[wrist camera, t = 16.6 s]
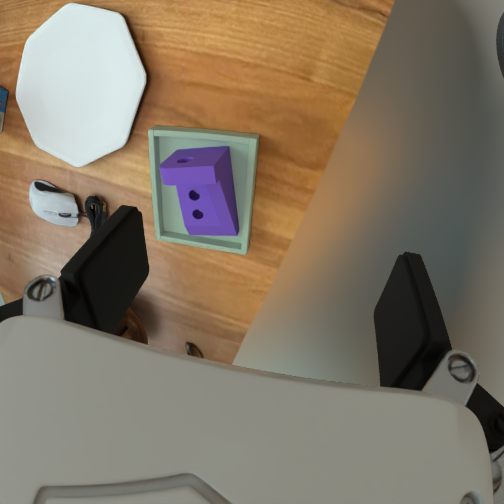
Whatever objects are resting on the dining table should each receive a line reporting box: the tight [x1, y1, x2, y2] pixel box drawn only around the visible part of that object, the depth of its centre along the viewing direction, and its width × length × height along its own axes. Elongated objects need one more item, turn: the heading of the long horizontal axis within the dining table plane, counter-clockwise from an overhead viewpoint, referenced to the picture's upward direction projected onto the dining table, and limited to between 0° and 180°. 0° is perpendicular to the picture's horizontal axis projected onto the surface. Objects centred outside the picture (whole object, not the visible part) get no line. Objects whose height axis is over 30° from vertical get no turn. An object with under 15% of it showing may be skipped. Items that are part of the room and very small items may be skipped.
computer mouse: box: [29, 180, 107, 237], centre depth 46 cm, size 10×18×4 cm, turn 72°
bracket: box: [159, 146, 239, 236], centre depth 39 cm, size 12×7×7 cm, turn 5°
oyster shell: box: [185, 343, 202, 358], centre depth 65 cm, size 6×4×10 cm
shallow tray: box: [148, 126, 259, 255], centre depth 41 cm, size 14×17×2 cm
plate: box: [16, 3, 147, 167], centre depth 34 cm, size 24×24×2 cm
